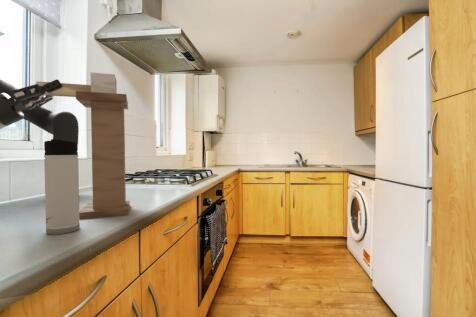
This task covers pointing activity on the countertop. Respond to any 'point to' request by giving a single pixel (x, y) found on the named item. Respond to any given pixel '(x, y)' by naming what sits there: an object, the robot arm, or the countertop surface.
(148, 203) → the countertop surface
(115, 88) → the mallet
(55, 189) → the travel mug
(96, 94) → the stand
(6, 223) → the countertop surface
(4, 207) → the countertop surface
